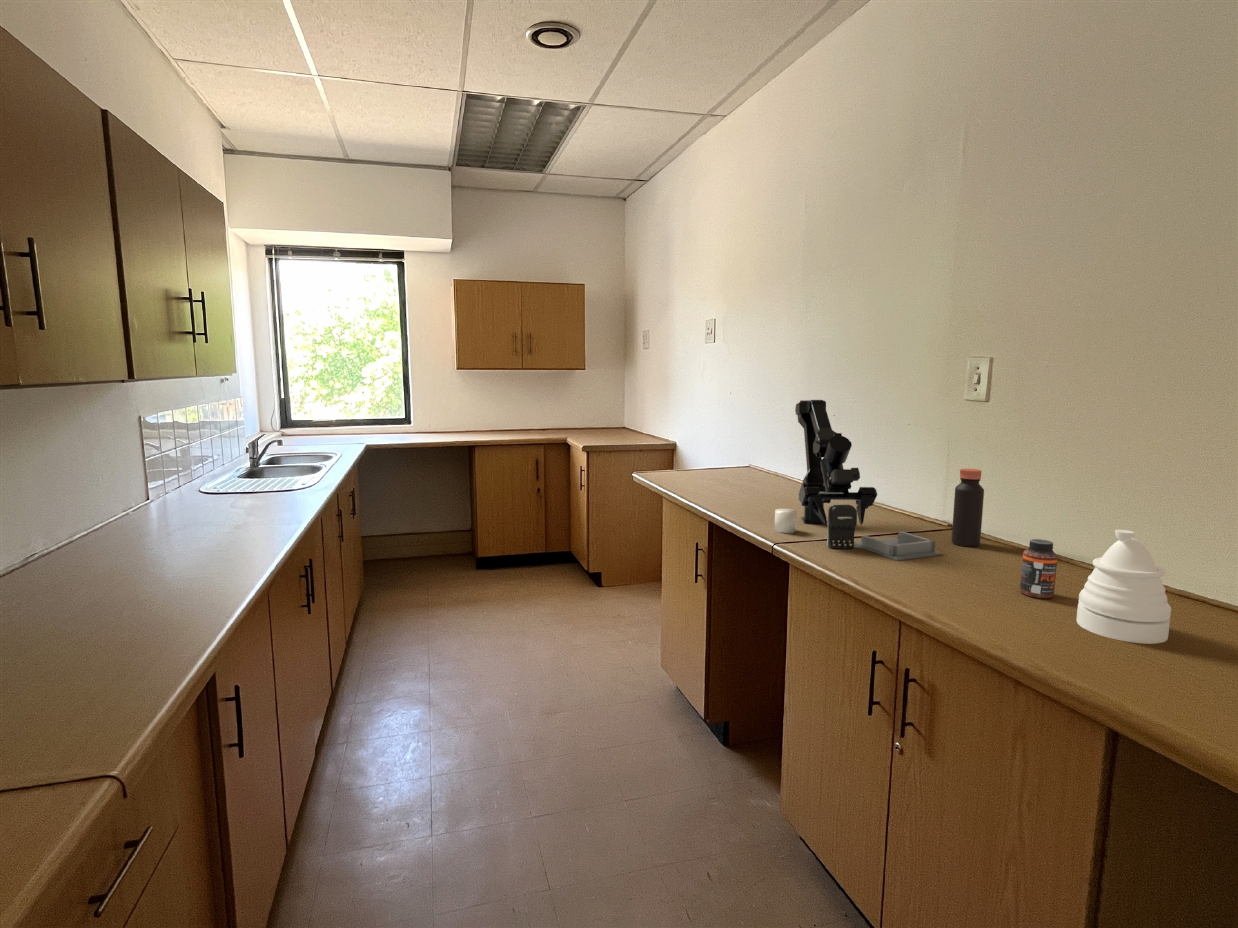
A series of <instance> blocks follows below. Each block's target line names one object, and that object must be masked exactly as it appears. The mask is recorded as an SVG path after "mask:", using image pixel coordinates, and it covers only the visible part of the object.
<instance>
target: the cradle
mask: <svg viewBox="0 0 1238 928" xmlns="http://www.w3.org/2000/svg"><path fill="white" fill-rule="evenodd" d="M897 532H898V533H897V534H898V535H897V537H888V538H880V539H877V538H875V537H872V536H868V535H861V540H860V541H854V547H855V546H856V547H858V548H861V549H863V550H866V551H870V552H873V553H875V554H878V555H880V556H883V557H885V558H889V559H891V560H894V561H897V562H898V561H904V560H914V559H919V558H928V557H935V556H941V555H942V552H941V551H938V550H935V549H936V541H935V540H932V539H929V538H926V537H923V536H919V535H915V534H913V533H908V532H906V531H902V530H901V531H897Z"/></svg>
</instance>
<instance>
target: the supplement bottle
mask: <svg viewBox="0 0 1238 928" xmlns="http://www.w3.org/2000/svg"><path fill="white" fill-rule="evenodd" d="M1028 546H1029V547H1028V548H1026V549H1025V550H1023V553H1022V562H1021V574H1020V582H1019V591H1020V593H1022V594H1023V595H1025V596H1028V597H1031V598H1035V599H1045V600H1046V599H1051V598H1053V597H1054V595H1055V587H1056V578H1057V570H1058V568H1057V566H1058V555H1057V554H1056V552H1054V550H1053V549H1054V542H1053V541H1050V540H1047V539H1039V538H1037V539H1036V538H1032V539H1030V540H1029V544H1028Z"/></svg>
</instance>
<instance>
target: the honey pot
mask: <svg viewBox="0 0 1238 928" xmlns="http://www.w3.org/2000/svg"><path fill="white" fill-rule="evenodd" d="M1114 534H1115V538H1116V542H1114V543H1113V544H1112V545H1110V547H1109V548H1108V549H1107V550H1106V551H1105V552H1104V553H1103V555H1102V556H1100V557H1097V558H1094V559H1093V561H1092V564H1093V567H1094V568H1093V571H1092V572H1091V574H1089V575H1088V577H1087V581H1086V582H1085V583H1084V587H1083V588H1082V589H1081V590H1080V592H1079V594H1078V603H1077V611H1076V623H1077V625H1079V627H1081V628H1083V629H1085V630H1086V631H1088V632H1091V633H1093V634H1096V635H1098V636H1102V637H1105V638H1108V639H1112V640H1118V641H1122V642H1128V643H1132V644H1133V643H1134V644H1136V643H1137V644H1145V645H1147V644H1149V645H1150V644H1151V645H1152V644H1161V643H1165V642H1167V641H1168V638H1169V633H1170V632H1169V631H1170V623H1171V613H1172V606H1171V605H1170V604H1169V603H1168V596H1167V595H1166V589H1167V588H1165V586H1164V585H1163V581H1162V577H1163V576H1165V574H1166V570H1165V569H1164V567H1162V566H1160V565H1158V564H1156V563H1155V561H1154V559H1153V557H1152V555H1151V553H1150V552H1149V550H1148V549H1147V547H1146V546H1145V545H1144V544H1143V543H1142V542H1141V541H1140V540H1139V539H1137V538H1134V534H1135V531H1131V530H1128V529H1115V530H1114Z"/></svg>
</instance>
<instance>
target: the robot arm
mask: <svg viewBox="0 0 1238 928" xmlns="http://www.w3.org/2000/svg"><path fill="white" fill-rule="evenodd" d="M794 409H795V415H796V416H797V421H798V424H800V426H801V427H802V428H803V433H804V434H803V435H804V447H805V458H806V459H805V460H806V473H805V475H804V477H803V479H802V483H801V486H800V489H799V492H798V501H799V502H800V503H801V506H802V507H804V511H803V516H801V521H802V522H803V524H817V525H818V524H823V525H827V522H828V518H827V515H826V511H825V504H830V503H831V500H832V501H855V504H856V507H855V509H856V511H857V519H858V521H859V524H860V525H863V523H864V519H865V514H866V510H867V509H869V507H872V506H873V505H874V502H875V500H876V498H877V497H878V491H877V489H876V488H875V487H873V486H859V488H858V491H857V492H853V491H851V492H850V491H849V490H851V488H852V483H853V482H858V481H859V480H860V478H861V474H860V473H861V471H860V469H859V467H851V468H850V469H848V468H846V469H844V464H845V463H846V462H847V459H848V457H849V454H850V451H851V448H852V442H851V441H850V439H849V438H847V437H846V436H843V435H842V432H836V431H835V430H833V429H832V425H831V422H830V419H829V415H828V411H827V402H826V400H823V399H810V400H808V399H807V400H805V399H804V400H801V399H800V400H799V402H797V403H796V404H795V407H794Z"/></svg>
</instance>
